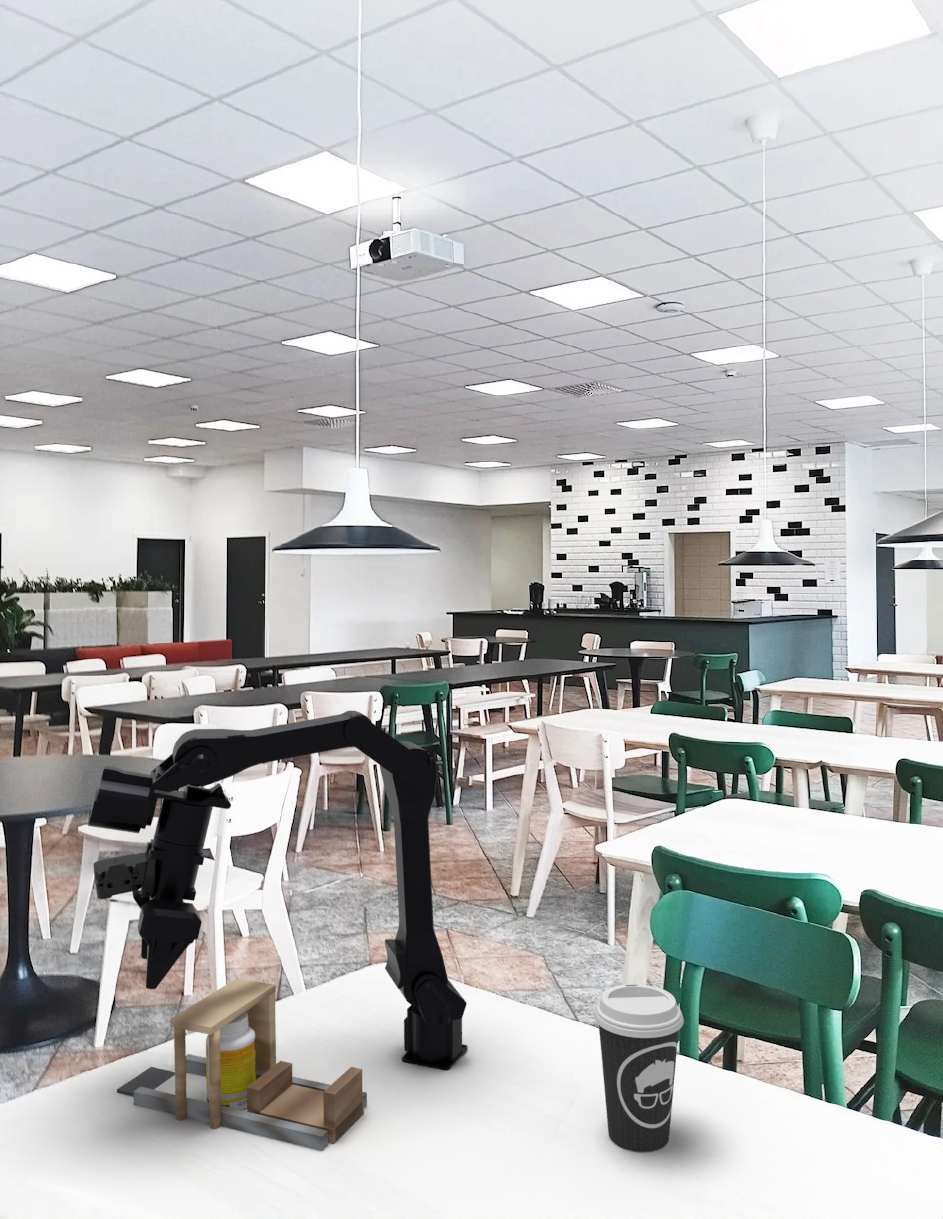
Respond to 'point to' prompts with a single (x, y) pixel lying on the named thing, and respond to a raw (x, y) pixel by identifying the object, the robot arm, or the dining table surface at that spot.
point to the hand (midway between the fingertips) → (147, 972)
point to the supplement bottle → (235, 1062)
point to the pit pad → (146, 1080)
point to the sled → (308, 1100)
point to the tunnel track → (210, 1020)
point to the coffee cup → (638, 1063)
